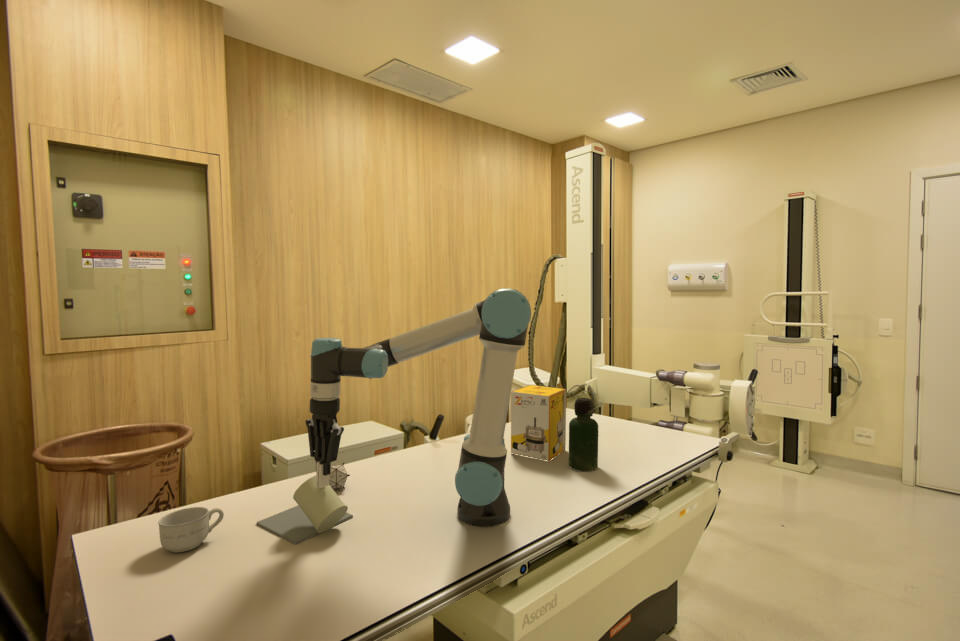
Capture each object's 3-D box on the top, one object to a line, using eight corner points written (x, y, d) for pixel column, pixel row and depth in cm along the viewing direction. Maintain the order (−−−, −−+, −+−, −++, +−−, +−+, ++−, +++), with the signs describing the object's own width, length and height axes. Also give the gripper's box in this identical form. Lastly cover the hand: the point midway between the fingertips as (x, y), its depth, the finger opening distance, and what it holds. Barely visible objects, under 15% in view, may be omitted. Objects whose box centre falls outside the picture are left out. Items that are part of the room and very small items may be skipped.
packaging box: (565, 450, 193) (566, 389, 192) (548, 462, 179) (549, 396, 178) (529, 443, 202) (529, 384, 200) (510, 454, 188) (511, 391, 187)
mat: (352, 517, 135) (352, 515, 134) (295, 544, 120) (295, 542, 120) (313, 501, 145) (313, 499, 145) (256, 524, 130) (256, 522, 130)
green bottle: (565, 469, 172) (566, 401, 170) (571, 460, 181) (572, 395, 180) (595, 474, 168) (596, 403, 166) (599, 464, 177) (600, 397, 176)
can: (353, 502, 129) (328, 470, 133) (330, 510, 120) (304, 475, 125) (334, 527, 130) (310, 495, 135) (310, 537, 122) (285, 502, 126)
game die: (339, 502, 153) (339, 484, 147) (316, 490, 154) (315, 473, 148) (354, 480, 160) (355, 462, 154) (332, 469, 161) (333, 451, 155)
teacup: (156, 562, 112) (155, 529, 111) (162, 541, 121) (161, 510, 121) (223, 548, 118) (223, 516, 118) (224, 528, 128) (223, 499, 127)
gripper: (296, 395, 125) (294, 483, 127) (329, 404, 118) (326, 497, 119) (321, 391, 132) (318, 475, 133) (353, 399, 124) (350, 488, 125)
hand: (322, 485), depth 126 cm, fingers closed
